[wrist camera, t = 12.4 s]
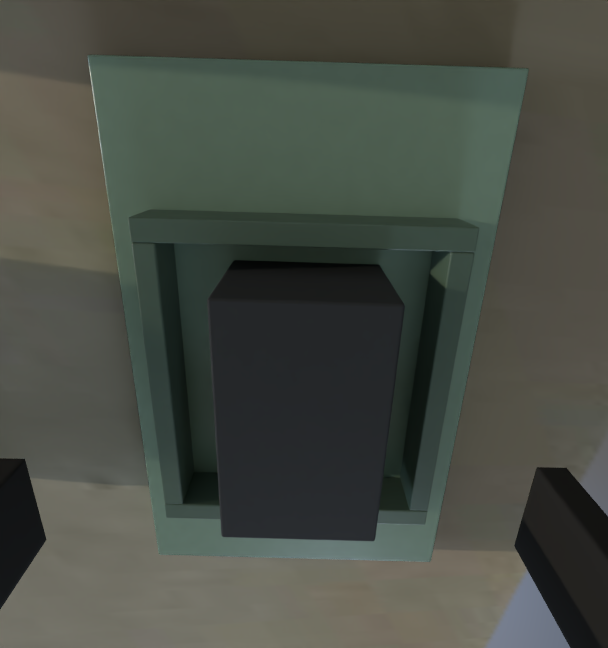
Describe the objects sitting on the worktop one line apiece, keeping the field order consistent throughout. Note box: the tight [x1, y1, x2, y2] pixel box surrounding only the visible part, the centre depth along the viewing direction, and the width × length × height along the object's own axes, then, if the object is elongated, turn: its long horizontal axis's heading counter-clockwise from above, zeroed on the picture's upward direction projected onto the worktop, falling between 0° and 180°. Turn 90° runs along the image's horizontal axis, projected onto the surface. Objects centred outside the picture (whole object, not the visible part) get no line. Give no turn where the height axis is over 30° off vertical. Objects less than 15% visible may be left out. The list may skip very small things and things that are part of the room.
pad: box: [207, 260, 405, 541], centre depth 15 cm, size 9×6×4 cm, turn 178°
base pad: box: [88, 55, 529, 562], centre depth 17 cm, size 22×14×4 cm, turn 178°
